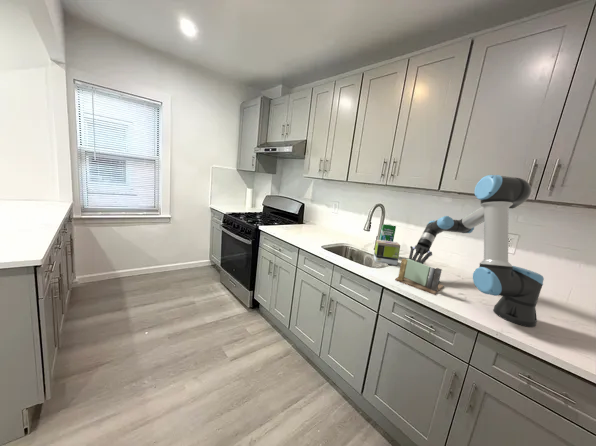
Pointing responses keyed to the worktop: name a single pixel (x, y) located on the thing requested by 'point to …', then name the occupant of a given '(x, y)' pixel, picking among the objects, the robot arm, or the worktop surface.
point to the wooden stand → (432, 290)
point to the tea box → (386, 252)
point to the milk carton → (387, 232)
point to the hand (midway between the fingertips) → (410, 271)
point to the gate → (419, 273)
